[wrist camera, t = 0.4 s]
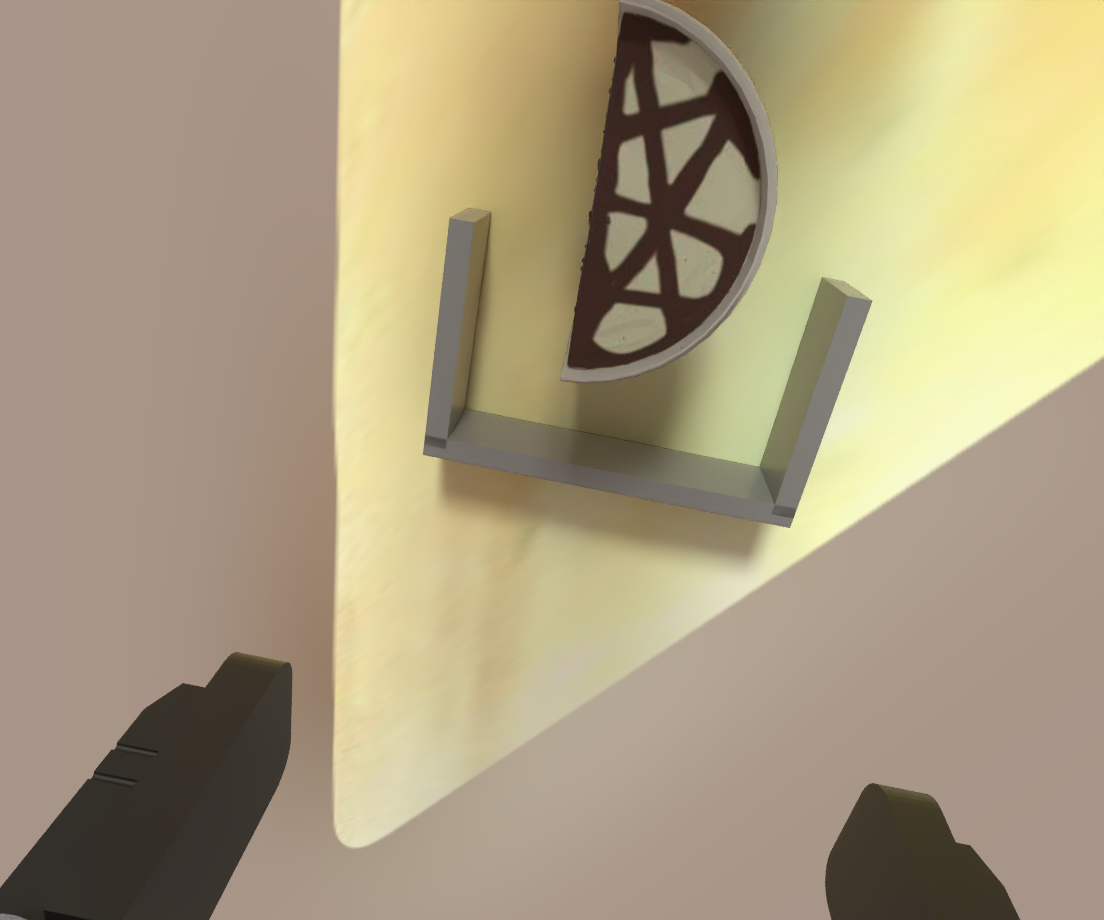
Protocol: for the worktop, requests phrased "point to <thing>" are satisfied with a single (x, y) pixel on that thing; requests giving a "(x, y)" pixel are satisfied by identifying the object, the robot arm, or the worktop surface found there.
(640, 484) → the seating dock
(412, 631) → the worktop surface
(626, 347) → the food container
